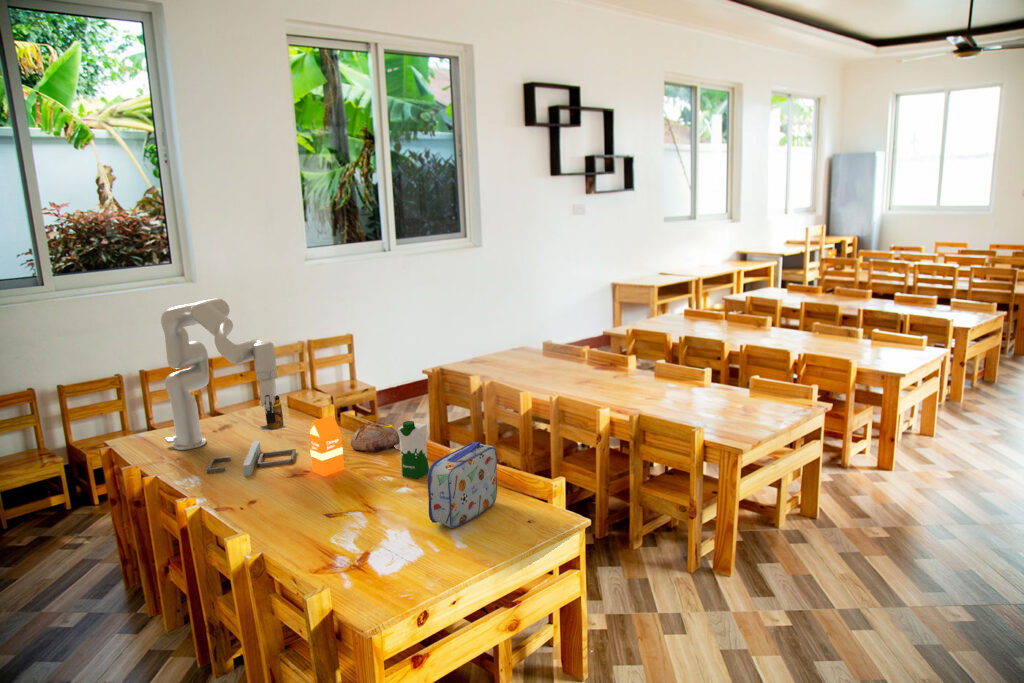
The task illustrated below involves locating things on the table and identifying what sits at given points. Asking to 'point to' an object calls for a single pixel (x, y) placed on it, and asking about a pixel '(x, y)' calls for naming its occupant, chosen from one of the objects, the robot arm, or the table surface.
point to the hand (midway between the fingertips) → (272, 419)
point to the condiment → (278, 417)
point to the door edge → (251, 458)
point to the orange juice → (326, 446)
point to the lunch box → (462, 484)
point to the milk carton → (413, 449)
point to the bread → (374, 437)
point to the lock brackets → (260, 463)
